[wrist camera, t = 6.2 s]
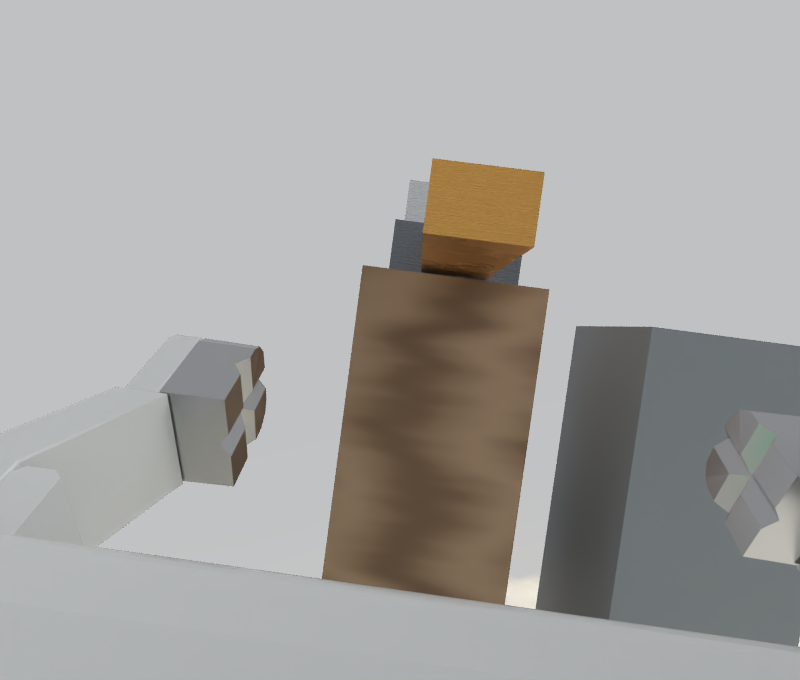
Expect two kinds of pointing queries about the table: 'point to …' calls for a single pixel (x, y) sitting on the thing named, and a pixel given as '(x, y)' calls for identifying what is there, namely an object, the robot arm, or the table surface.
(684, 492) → the grey stand
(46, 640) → the robot arm
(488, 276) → the wood and grey block
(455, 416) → the walnut stand
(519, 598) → the table surface
